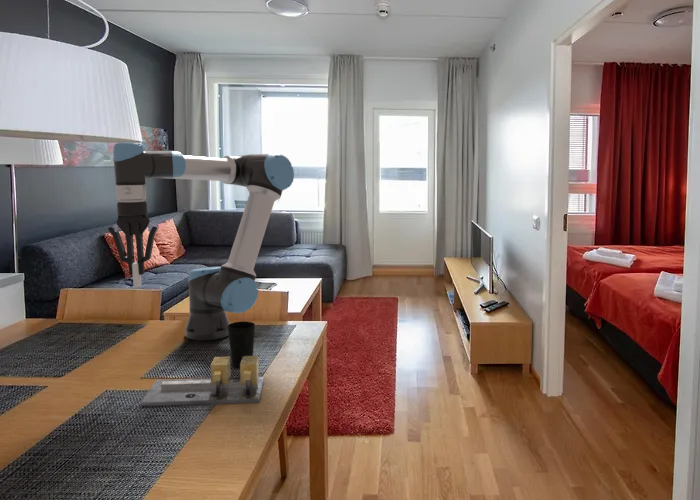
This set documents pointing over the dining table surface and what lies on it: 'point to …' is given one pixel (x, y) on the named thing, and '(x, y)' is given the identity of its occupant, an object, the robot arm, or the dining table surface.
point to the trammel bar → (248, 380)
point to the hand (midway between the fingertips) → (137, 286)
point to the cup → (241, 341)
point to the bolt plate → (200, 395)
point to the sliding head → (220, 372)
